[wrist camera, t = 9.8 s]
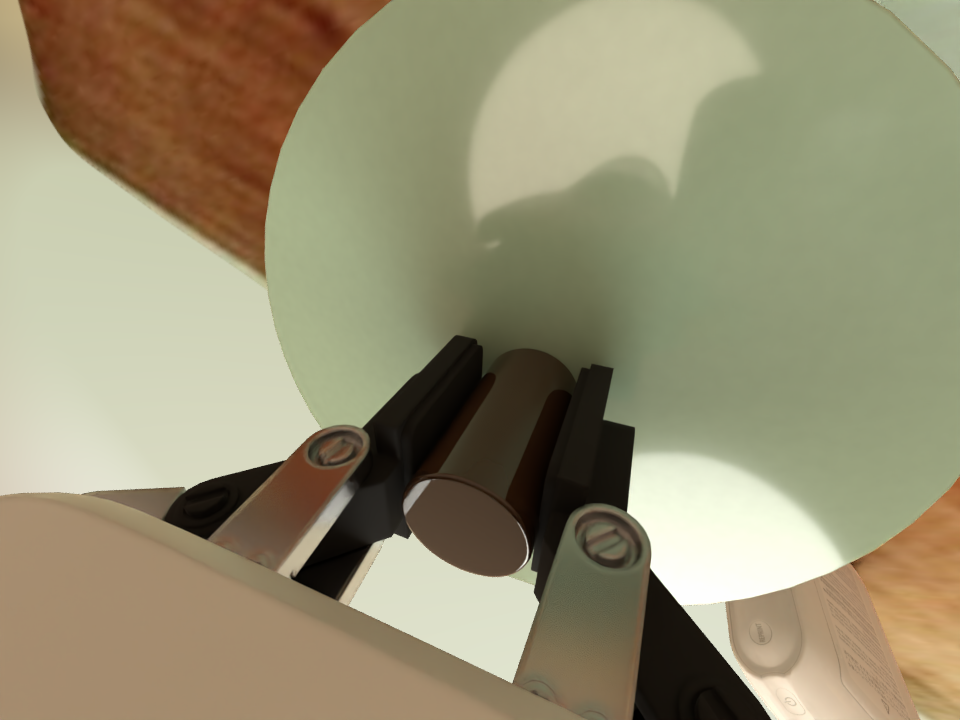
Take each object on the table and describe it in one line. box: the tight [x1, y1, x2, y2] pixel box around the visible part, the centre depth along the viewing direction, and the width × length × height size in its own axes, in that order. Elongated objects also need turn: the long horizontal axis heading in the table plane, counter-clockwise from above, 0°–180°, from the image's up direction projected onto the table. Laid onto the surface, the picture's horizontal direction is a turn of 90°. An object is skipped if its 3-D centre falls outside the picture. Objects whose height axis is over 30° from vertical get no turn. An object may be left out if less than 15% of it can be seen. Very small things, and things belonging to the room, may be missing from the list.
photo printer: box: [725, 563, 920, 720], centre depth 22 cm, size 10×4×12 cm, turn 51°
